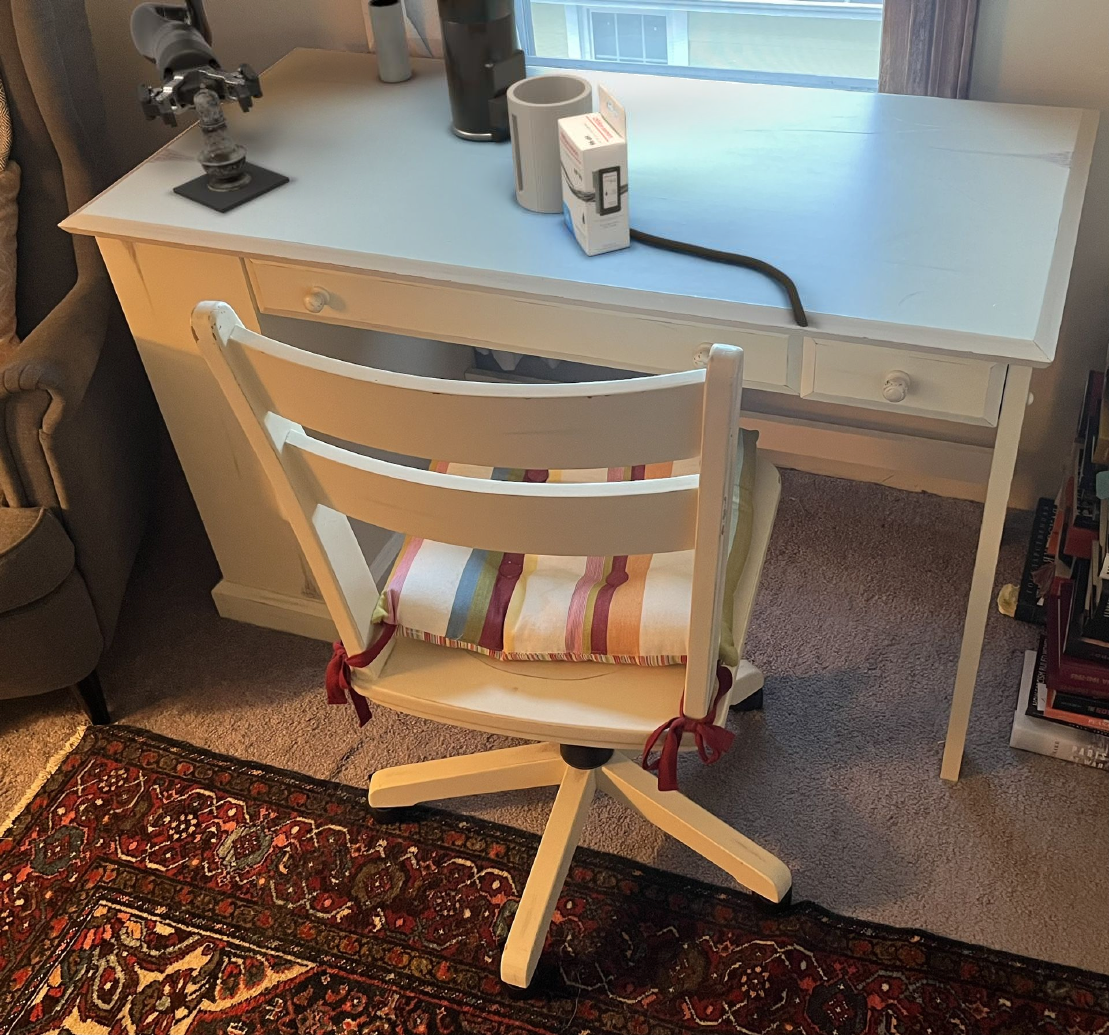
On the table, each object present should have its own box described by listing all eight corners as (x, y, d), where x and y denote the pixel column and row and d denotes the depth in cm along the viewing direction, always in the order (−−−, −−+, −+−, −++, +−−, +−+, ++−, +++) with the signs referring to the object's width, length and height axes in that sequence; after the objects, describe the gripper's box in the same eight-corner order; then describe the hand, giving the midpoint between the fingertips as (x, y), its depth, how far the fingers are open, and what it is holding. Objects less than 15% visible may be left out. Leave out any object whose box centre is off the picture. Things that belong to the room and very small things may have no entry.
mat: (289, 181, 132) (288, 177, 132) (223, 213, 127) (221, 209, 127) (239, 162, 138) (238, 158, 137) (173, 192, 132) (172, 188, 132)
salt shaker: (236, 167, 135) (209, 69, 127) (263, 179, 132) (237, 80, 124) (195, 185, 132) (165, 85, 124) (223, 197, 129) (193, 96, 121)
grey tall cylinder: (404, 83, 154) (392, 7, 147) (375, 81, 155) (362, 5, 148) (417, 72, 157) (406, -4, 150) (388, 70, 158) (376, -5, 151)
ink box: (562, 223, 120) (553, 89, 110) (604, 214, 121) (599, 80, 111) (587, 258, 114) (580, 119, 104) (632, 248, 114) (629, 109, 105)
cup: (610, 185, 126) (606, 81, 118) (569, 219, 120) (562, 111, 112) (544, 171, 130) (536, 69, 122) (501, 203, 124) (490, 98, 116)
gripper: (122, 49, 135) (137, 92, 124) (236, 27, 139) (260, 67, 127) (142, 109, 140) (157, 155, 129) (251, 86, 144) (276, 130, 132)
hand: (209, 111), depth 128 cm, fingers open, 8 cm apart
